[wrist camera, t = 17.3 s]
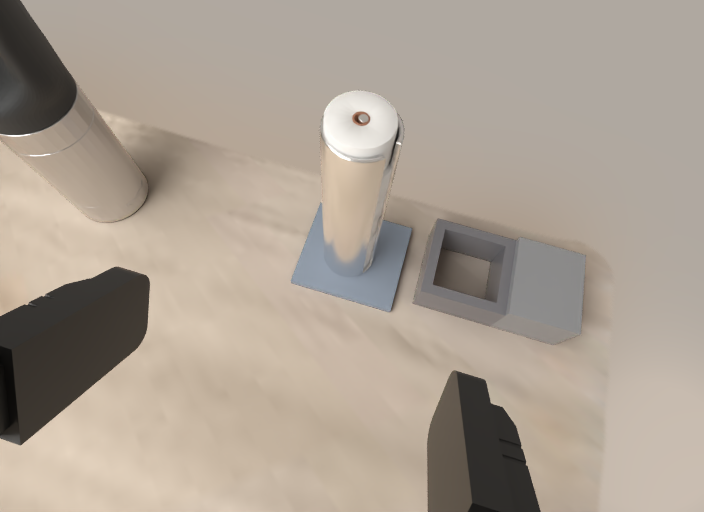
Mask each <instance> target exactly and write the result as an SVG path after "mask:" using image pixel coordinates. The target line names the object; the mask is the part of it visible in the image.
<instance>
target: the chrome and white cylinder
mask: <svg viewBox="0 0 704 512" xmlns="http://www.w3.org/2000/svg"><path fill="white" fill-rule="evenodd" d="M403 139H404V126H403V122H402V119H401V117H400V116H399V114H398V113H397V111H396V110H395V109H394V107H393V106H392V104H390V103H389V102H388V101H387V100H386V99H385V98H384V97H382V96H380V95H378V94H375V93H372V92H369V91H360V90H359V91H350V92H346V93H343V94H341V95H339V96H337V97H336V98H334V99H333V100H332V101H331V102H330V103H329V105H328V106H327V107H326V109H325V112H324V115H323V117H322V119H321V125H320V151H321V183H322V213H323V244H324V258H325V262H326V264H327V266H328V267H329V268H330V269H331V271H333V272H334V273H336V274H337V275H340V276H343V277H355V276H358V275H361V274H363V273H364V272H365V271H367V270H368V269H369V267H370V266H371V264H372V261H373V258H374V255H375V251H376V247H377V243H378V239H379V235H380V231H381V227H382V223H383V219H384V215H385V211H386V207H387V203H388V199H389V195H390V191H391V187H392V183H393V179H394V175H395V171H396V167H397V163H398V159H399V155H400V151H401V147H402V143H403Z"/></svg>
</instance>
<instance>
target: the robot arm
mask: <svg viewBox="0 0 704 512" xmlns="http://www.w3.org/2000/svg"><path fill="white" fill-rule="evenodd" d="M0 141H1V142H2V143H3V144H5V145H6V146H7V147H8V148H9V149H10V150H12V151H13V152H14V153H15V154H16V155H17V156H18V157H20V158H21V159H22V160H23V161H24V162H25V163H26V164H27V165H29V166H30V167H31V168H32V169H33V170H34V171H35V172H37V173H38V174H39V175H40V176H41V177H42V178H43V179H45V180H46V181H47V182H48V183H49V184H50V185H51V186H52V187H54V188H55V189H56V190H57V191H58V192H59V193H60V194H62V195H63V196H64V197H65V198H66V199H67V200H68V201H69V202H70V203H72V204H73V205H74V206H75V207H76V208H77V209H78V210H80V211H81V212H82V213H83V214H84V215H85V216H86V217H88V218H90V219H92V220H94V221H98V222H115V221H119V220H122V219H124V218H126V217H129V216H130V215H132V214H133V213H135V212H136V211H137V210H138V209H139V208H140V207H141V206H142V204H143V203H144V201H145V199H146V197H147V193H148V183H147V180H146V178H145V176H144V175H143V173H142V172H141V171H140V169H139V168H138V166H137V165H136V164H135V162H134V161H133V159H132V158H131V157H130V155H129V154H128V152H127V151H126V150H125V148H124V147H123V146H122V144H121V143H120V141H119V140H118V139H117V137H116V136H115V135H114V133H113V132H112V130H111V129H110V128H109V126H108V125H107V124H106V122H105V121H104V119H103V118H102V117H101V115H100V114H99V113H98V111H97V110H96V108H95V107H94V106H93V104H92V103H91V102H90V100H89V99H88V98H87V96H86V95H85V93H84V92H83V91H82V89H81V88H80V87H79V85H78V84H77V82H76V81H75V80H74V79H73V77H72V76H71V74H70V73H69V72H68V70H67V69H66V68H65V66H64V65H63V63H62V62H61V60H60V59H59V57H58V56H57V54H56V52H55V51H54V49H53V48H52V46H51V45H50V43H49V42H48V40H47V39H46V37H45V36H44V34H43V33H42V32H41V30H40V29H39V28H38V26H37V25H36V23H35V22H34V20H33V19H32V17H31V16H30V14H29V13H28V12H27V10H26V8H25V7H24V5H23V4H22V2H21V1H20V0H0ZM149 290H150V282H149V278H148V277H147V276H146V275H144V274H140V273H137V272H134V271H131V270H127V269H124V268H121V267H114V268H111V269H109V270H107V271H105V272H103V273H101V274H99V275H97V276H95V277H94V278H92V279H86V280H82V281H78V282H73V283H69V284H65V285H63V286H61V287H59V288H57V289H55V290H53V291H51V292H49V293H47V294H46V295H45V296H44V297H43V296H41V297H39V298H37V299H35V300H33V301H31V302H29V304H28V305H25V304H24V305H22V306H20V307H18V308H16V309H14V310H12V311H10V312H8V313H6V314H4V315H2V316H0V438H1V439H4V440H6V441H9V442H12V443H15V444H18V445H22V444H23V443H24V442H25V441H27V440H28V439H29V438H30V437H31V436H33V435H34V434H35V433H36V432H37V431H39V430H40V429H41V428H42V427H43V426H45V425H46V424H47V423H48V422H49V421H51V420H52V419H53V418H54V417H55V416H57V415H58V414H59V413H60V412H61V411H63V410H64V409H65V408H66V407H67V406H69V405H70V404H71V403H72V402H73V401H75V400H76V399H77V398H78V397H79V396H81V395H82V394H83V393H84V392H85V391H87V390H88V389H89V388H90V387H91V386H93V385H94V384H95V383H96V382H97V381H99V380H100V379H101V378H102V377H103V376H105V375H106V374H107V373H108V372H109V371H111V370H112V369H113V368H114V367H115V366H117V365H118V364H119V363H120V362H121V361H123V360H124V359H125V358H126V357H127V356H129V355H130V354H131V353H132V352H133V351H135V350H136V349H137V348H138V346H139V345H140V344H141V342H142V340H143V339H144V336H145V334H146V331H147V324H148V307H149ZM427 466H428V512H541V511H540V508H539V505H538V501H537V498H536V494H535V491H534V487H533V484H532V480H531V477H530V473H529V470H528V466H526V459H525V456H524V452H523V449H521V442H520V439H519V435H518V432H517V428H516V426H515V424H514V423H513V421H512V420H511V419H510V417H509V416H508V414H507V413H506V411H505V410H504V409H503V407H500V406H497V405H493V404H491V402H490V397H489V393H488V389H487V384H486V381H485V380H484V379H481V378H478V377H474V376H471V375H468V374H465V373H461V372H458V371H453V372H452V373H451V375H450V376H449V379H448V381H447V384H446V386H445V388H444V391H443V393H442V396H441V398H440V401H439V403H438V406H437V408H436V410H435V413H434V415H433V418H432V421H431V424H430V428H429V434H428V442H427Z"/></svg>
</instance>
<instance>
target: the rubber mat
mask: <svg viewBox="0 0 704 512" xmlns="http://www.w3.org/2000/svg"><path fill="white" fill-rule="evenodd" d="M411 231H412V228H409V227H406V226H402V225H399V224H395V223H392V222H388V221H385V220H383V223H382V227H381V231H380V235H379V239H378V243H377V247H376V251H375V255H374V258H373V261H372V264H371V266H370V267H369V269H368V270H367V271H365V272H364V273H363V274H361V275H358V276H355V277H343V276H340V275H337V274H336V273H334V272H333V271H331V269H330V268H329V267H328V266H327V264H326V262H325V258H324V244H323V213H322V203H320V206H319V208H318V211H317V214H316V216H315V219H314V221H313V224H312V227H311V229H310V232H309V235H308V237H307V240H306V242H305V245H304V248H303V250H302V253H301V255H300V258H299V261H298V263H297V266H296V269H295V271H294V274H293V276H292V279H291V283H293V284H296V285H300V286H303V287H306V288H310V289H313V290H316V291H320V292H323V293H326V294H330V295H333V296H336V297H340V298H343V299H346V300H350V301H353V302H357V303H360V304H363V305H367V306H370V307H373V308H377V309H380V310H383V311H387V312H390V311H391V307H392V303H393V299H394V295H395V292H396V288H397V284H398V280H399V277H400V273H401V269H402V265H403V261H404V258H405V254H406V250H407V246H408V243H409V239H410V235H411Z"/></svg>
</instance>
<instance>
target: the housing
mask: <svg viewBox="0 0 704 512" xmlns="http://www.w3.org/2000/svg"><path fill="white" fill-rule="evenodd" d="M441 248H444V249H448V250H451V251H455V252H458V253H462V254H465V255H469V256H472V257H476V258H479V259H483V260H486V261H490V262H491V264H490V270H489V276H488V282H487V288H486V294H485V300H484V299H481V298H478V297H474V296H471V295H467V294H464V293H460V292H457V291H454V290H450V289H447V288H443V287H440V286H436V285H433V281H434V277H435V272H436V268H437V263H438V259H439V255H440V250H441ZM585 260H586V255H583V254H580V253H576V252H573V251H569V250H565V249H562V248H558V247H555V246H551V245H548V244H544V243H540V242H537V241H533V240H530V239H526V238H522V237H519V238H518V239H517V240H513V239H510V238H506V237H503V236H499V235H495V234H492V233H488V232H485V231H481V230H478V229H474V228H470V227H467V226H463V225H460V224H456V223H453V222H449V221H445V220H442V219H437V221H436V223H435V225H434V227H433V229H432V231H431V233H430V235H429V238H428V242H427V246H426V250H425V254H424V258H423V262H422V266H421V271H420V275H419V279H418V283H417V287H416V291H415V295H414V299H413V304H416V305H420V306H423V307H426V308H430V309H433V310H436V311H440V312H443V313H447V314H450V315H453V316H457V317H460V318H463V319H467V320H470V321H474V322H477V323H480V324H484V325H487V326H490V327H494V328H497V329H501V330H504V331H507V332H511V333H514V334H517V335H521V336H524V337H528V338H531V339H534V340H538V341H541V342H545V343H548V344H551V345H555V344H557V343H560V342H563V341H565V340H568V339H570V338H573V337H575V336H578V335H581V323H582V307H583V292H584V276H585Z"/></svg>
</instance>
